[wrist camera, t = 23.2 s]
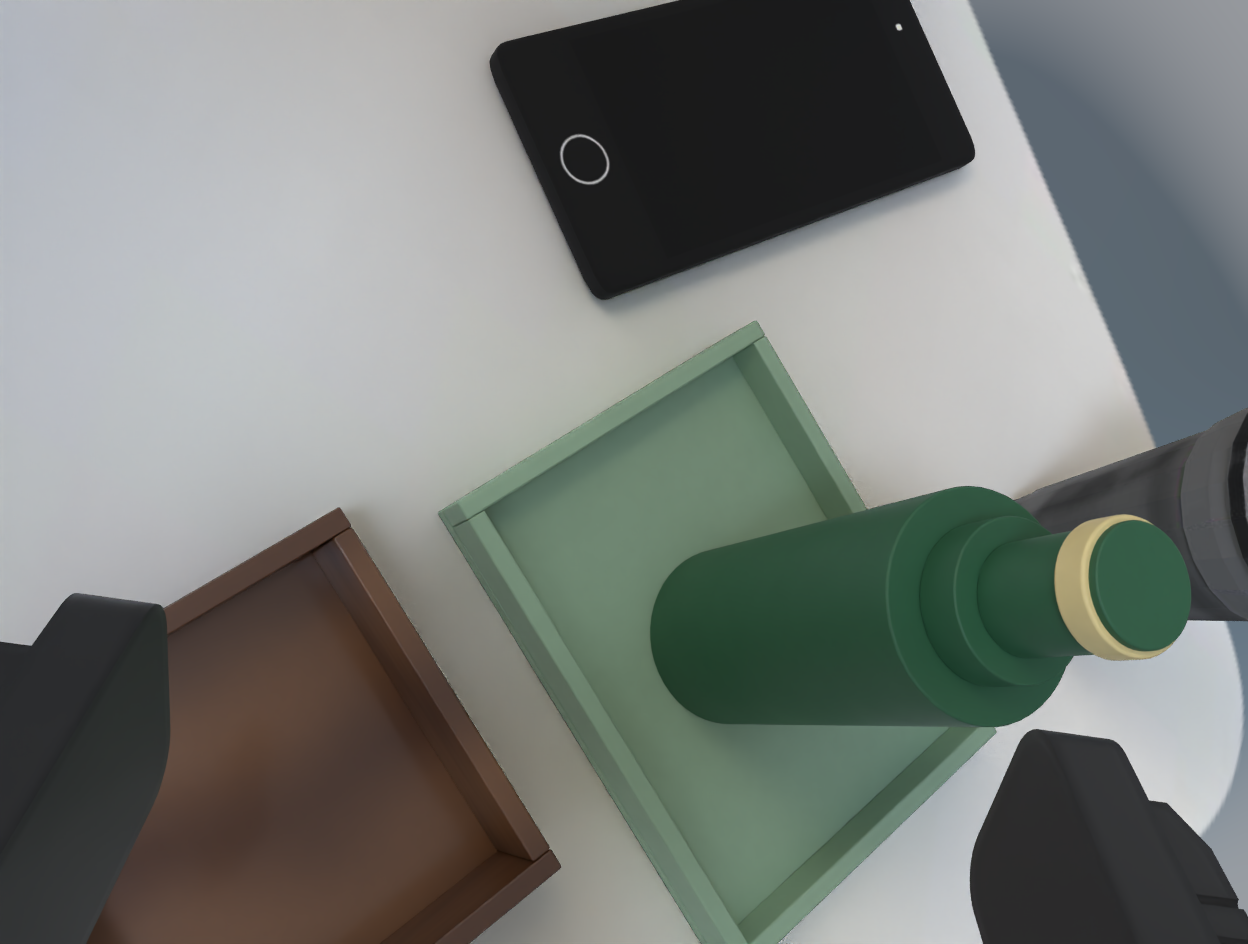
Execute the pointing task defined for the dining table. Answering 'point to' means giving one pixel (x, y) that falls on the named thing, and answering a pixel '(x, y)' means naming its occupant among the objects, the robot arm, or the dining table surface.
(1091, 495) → the beverage cup
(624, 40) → the cell phone
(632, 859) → the dining table surface
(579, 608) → the tray
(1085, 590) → the green bottle
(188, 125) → the dining table surface
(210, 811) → the crate
